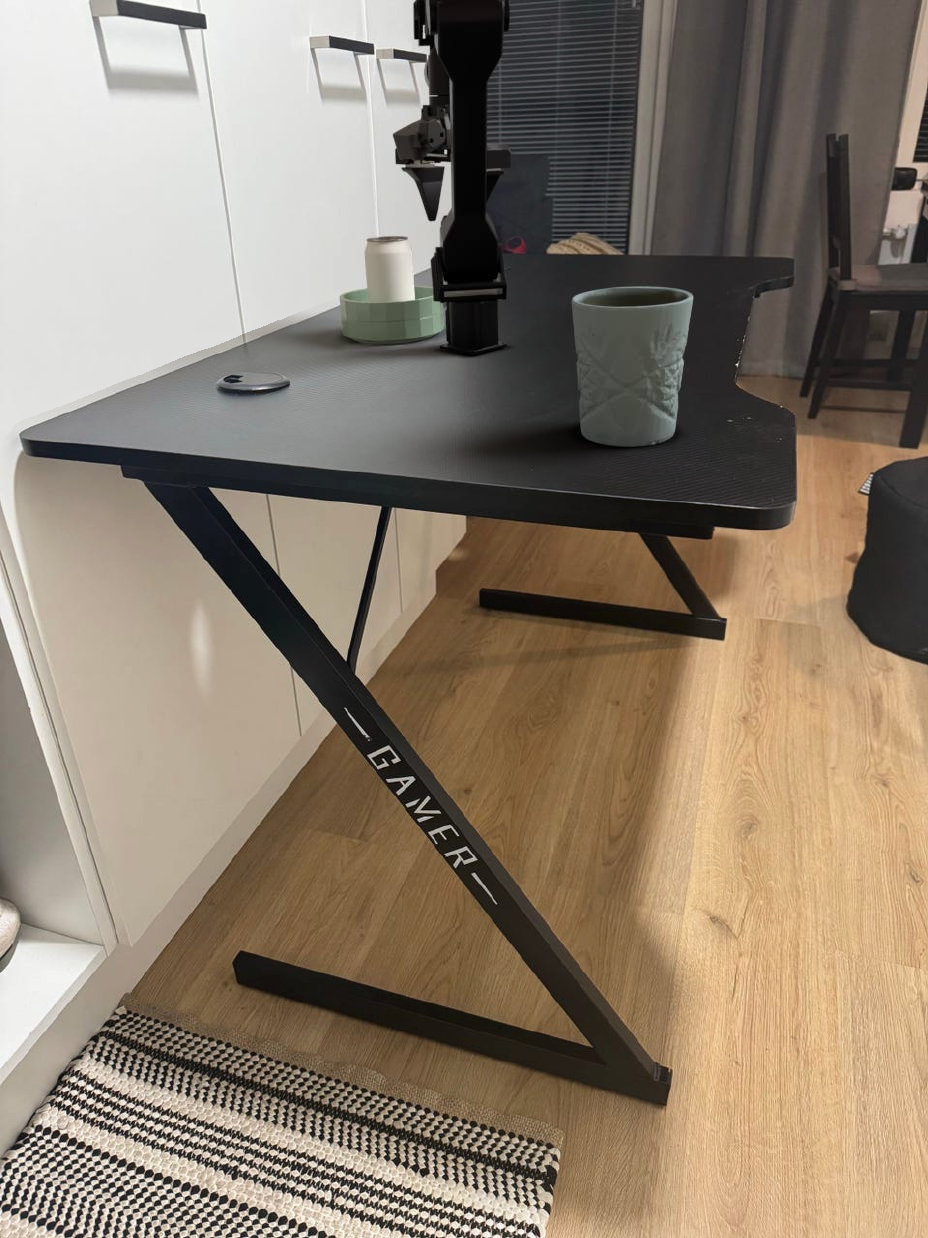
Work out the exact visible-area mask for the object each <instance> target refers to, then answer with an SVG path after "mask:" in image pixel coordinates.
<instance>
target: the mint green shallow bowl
mask: <svg viewBox="0 0 928 1238" xmlns="http://www.w3.org/2000/svg"><path fill="white" fill-rule="evenodd" d="M414 291H415V299H414V300H405V301H392V302H368V290H367V287H365V288H361V289H360V288H359V289H355V290H351V291H347V292H344V293H342V294H340V295H338V297H339V306H340V314H341V315H340V317H341V325H342V335H343V336H344V337H347V338H349V339H351V340H353V341H355V342H358V343H365V344H379V345H383V344H384V345H387V344H403V343H412V342H418V341H424V340H427V339H430V338H433V337H434V336H436V335H437V334H438V333H440V332H442V331H444V329H445V317H444V316H445V314H444V303H440V302H436V301H433V286H425V285H424V286H423V285H414Z"/></svg>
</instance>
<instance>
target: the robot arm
mask: <svg viewBox="0 0 928 1238" xmlns="http://www.w3.org/2000/svg"><path fill="white" fill-rule="evenodd" d="M510 3H511V2H510V0H415V1H414V2H413V3H412V12H413V13H412V15H413V16H412V18H413V19H412V20H413V24H412V25H413V26H412V27H413V29H412V30H413V31H412V32H413V40H416V41H417V46H418V47H429V52H428V53H429V54H428V55H427V59H426V61H425V64H424V68H423V76H424V81H425V83H426V86H427V88H428V103H429V104H422V107H421V109H420V116H421V117H420V119H418V120H416V121H414V122H411V123H409V124H407V125H406V126H404V127H402V128H400V129H398V130H396V131H395V132H393V133H392V138H393V141H394V144H395V145H394V146H395V149H394V159H395V165H400V166H401V167H400V168H401V171H402V172H405V173H406V174H407V175H408V176H409V177H410V178H412V180H413V181H414V183H415V185H416V187H417V190H418V193H419V196H420V199H421V202H422V205H423V209H424V212H425V214H426V217H427V221H428V222H436V220H437V217H438V212H439V207H440V201H441V195H442V187H443V181H444V177H445V175H444V174H445V165H444V166H443V165H436V164H442V163H450V179H451V180H450V187H451V188H450V189H451V191H450V192H451V193H450V194H451V208H450V210H449V211H448V213H447V214H445V215H444V214H443V217H442V218H441V220H440V227H439V246H435V247H434V252H433V256H432V257H431V259H430V272H431V283H432V287H433V301H436V302H440V303H443V304H445V306H446V307H445V308H446V309H445V311H444V313H445V314H444V316H445V317H444V319H445V335H446V336H445V337H446V343H442V344H438V346H439V348H438V349H439V350H444V351H449V352H453V353H459V354H464V355H469V356H474V355H475V356H476V355H479V354H482V353H486V352H492V351H494V350H495V351H496V350H499V349H503V348H506V347H508V342H506V341H499V304H498V303H499V301H498V300H501V301H503V300H504V301H505V300H507V294H508V293H507V289H508V283H507V275H506V274H507V273H506V268H505V260H504V251H503V245H502V243H499V238H498V234H497V232H496V227H495V224H494V223H493V220H492V219H491V217H490V215H489V213H487V204H488V201H489V199H490V197H491V194H492V193H493V191H494V189H495V186H496V185H497V183H498V181H499V180H500V177H501V176H504V175H505V173H506V172H505V171H506V170H504V169H510V168H511V169H512V150H511V149H510V147H509V146H508V144H507V143H488V91H489V88H488V87H489V84H488V83H489V81H490V79H491V77H492V75H493V73H494V71H495V69H497V66H498V64H499V63H500V61H501V58H502V57H503V53H504V36H505V35H504V34H505V33H509V30H510V20H511V19H510V18H511V5H510ZM445 151H446V153H445ZM402 165H403V166H402ZM495 280H496V281H495Z"/></svg>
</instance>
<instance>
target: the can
mask: <svg viewBox="0 0 928 1238" xmlns="http://www.w3.org/2000/svg"><path fill="white" fill-rule="evenodd" d="M408 240H409V237H408V236H403V235H389V236H387V235H386V236H385V235H384V236H375V237H374V236H373V237H369V238H366V246H365V249H364V266H365V277H366V288H367V290H368V302H392V301H405V300H414V299H415V291H414V286H415V278H414V277H415V275H414V263H413V260H414V259H413V250H412V247H411V245H410V244H409V241H408Z"/></svg>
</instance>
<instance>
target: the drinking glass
mask: <svg viewBox="0 0 928 1238" xmlns="http://www.w3.org/2000/svg"><path fill="white" fill-rule="evenodd" d="M693 304H694V295H693V293H692V292H689V291H688V290H684V289H680V288H675V287H667V286H666V287H665V286H649V285H648V286H647V285H646V286H642V285H640V286H637V285H636V286H620V287H618V286H617V287H608V288H599V289H594V290H589V291H584V292H581V293H578V294H576V295H574V296H573V297H572V299H571V310H572V322H573V332H574V333H573V335H574V346H575V354H576V355H577V359H578V360H577V361H576V374H577V389H578V391H579V392H580V398H579V423H580V431H581V435H582V437H583V438H585V439H586V440H588V441H591V442H594V443H597V444H600V445H606V446H612V447H628V448H629V447H630V448H632V447H633V448H634V447H644V446H645V447H646V446H653V445H656V444H661V443H664V442H665V441H667V440H670V439H671V438H672V437H674V435H675V432H676V426H677V419H678V411H679V392H680V390H681V386H682V379H683V372H684V371H683V370H684V366H685V365H684V364H685V360H684V359H683V357H684V354H685V351H686V347H687V344H688V336H689V328H690V322H691V315H692V309H693Z"/></svg>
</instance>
